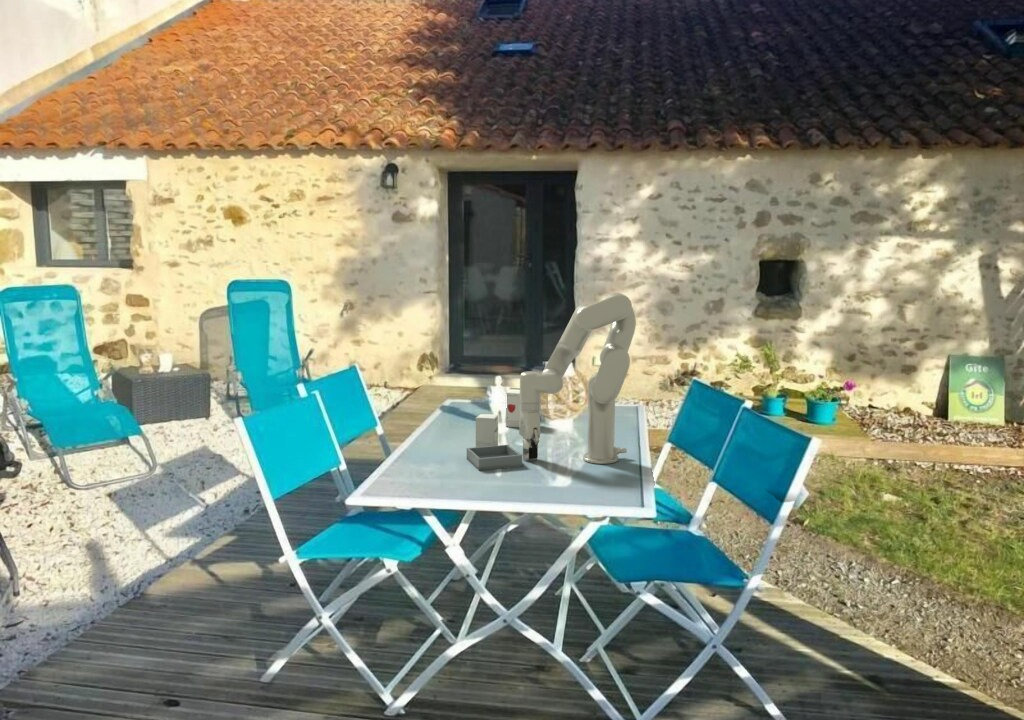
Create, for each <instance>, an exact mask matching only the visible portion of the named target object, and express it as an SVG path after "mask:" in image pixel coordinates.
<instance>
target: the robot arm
mask: <svg viewBox="0 0 1024 720" xmlns="http://www.w3.org/2000/svg"><path fill="white" fill-rule="evenodd" d="M608 325H610V327H609V331H608V335H607V337H606V339H605V343H604V345H603V347H602V350H601V352H600V354H599V361H600V365H599V368H598V371H596V372H595V373H594V374H592V375H591V376H590V377H589V380H588V382H587V447H586V448H587V453H586V452H585V454H583V456H582V460H583V461H584V462H587V463H590V464H596V465H597V464H598V465H601V464H602V465H604V464H606V465H607V464H615V463H616V462H618V461H619V456H618V455H619V454H627V452H628V450H627V448H626V447H620V446H619V447H618V446H617V447H616V446H615V429H616V428H615V427H616V425H615V423H616V399H617V398H618V396H619V395H620V392H621V390H622V387H623V384H624V382H625V380H626V377H627V375H628V371H629V368H630V365H631V363H630V362H631V357H630V354H629V350H630V346H631V344H632V341H633V338H634V335H635V332H636V325H637V322H636V315H635V310H634V309H633V306H632V301H631V300H630V297H628V296H627V295H625V294H623V293H620V292H611V293H609V294H608V295H607V296H606V297H605V298H604V299H603V300H599V301H597V302H594V303H592V304H580V305H579V306H578V307H576V309H575V310H574V312H573V313H572V316H571V317H570V320H569V322H568V323H567V325H566V327H565V329H564V331H563V333H562V335H561V337H560V339H559V340H558V342H557V344H556V346H555V348H554V350H553V352H552V353H551V355H550V357H549V359H548V361H547V362H546V364H545V367H544V369H543V371H542V373H539V372H538V371H523V372H521V373H520V375H519V390H520V420H519V428H518V434H519V436H520V437H522V439H523V438H525V439H527V440H529V444H530V447H529V459H534V458H537V459H538V457H539V455H538V453H539V442H540V438H541V416H540V412H541V411H542V394H549V395H555V394H557V393H558V394H559V393H560V392H561V391H562V389H563V387H564V379H563V378H564V376H565V374H566V372H567V370H568V368H569V367H570V365H571V363H572V362H573V361H574V359H575V358H577V357H578V356H579V355H580V354H581V352H582V351H583V348H584V347H585V345H586V343H587V341H588V339H589V337H590V335H591V333H592V332H593V330H597V329H599V328H602V327H605V326H608ZM532 437H534V439H531V438H532ZM532 441H533V442H532Z"/></svg>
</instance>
